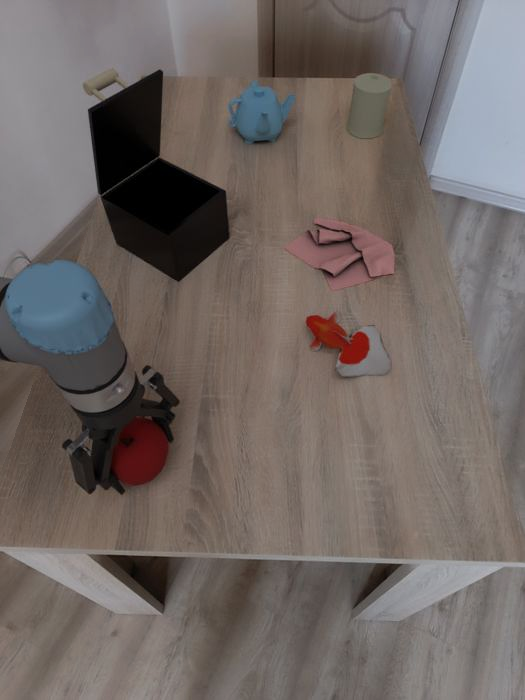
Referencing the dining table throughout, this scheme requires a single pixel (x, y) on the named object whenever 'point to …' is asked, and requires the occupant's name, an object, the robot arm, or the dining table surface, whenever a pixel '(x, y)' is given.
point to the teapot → (259, 113)
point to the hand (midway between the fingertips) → (142, 460)
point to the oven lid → (124, 126)
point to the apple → (139, 452)
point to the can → (369, 105)
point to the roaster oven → (168, 217)
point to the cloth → (344, 253)
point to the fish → (351, 346)
